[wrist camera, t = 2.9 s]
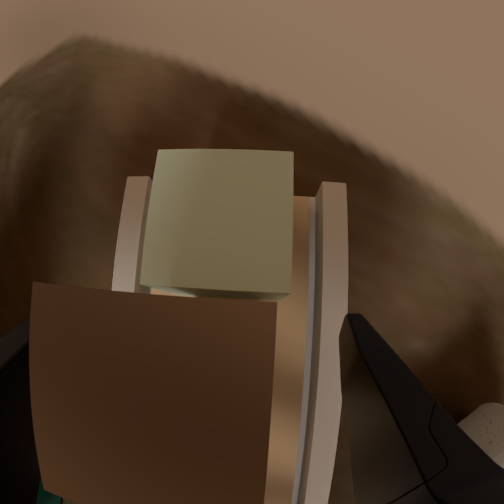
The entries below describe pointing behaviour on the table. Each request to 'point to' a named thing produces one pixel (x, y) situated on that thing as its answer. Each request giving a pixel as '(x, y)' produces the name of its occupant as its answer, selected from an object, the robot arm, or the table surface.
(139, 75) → the table surface
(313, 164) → the table surface
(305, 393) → the lane board
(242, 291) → the block
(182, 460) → the wooden stair steps
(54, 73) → the table surface
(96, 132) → the table surface
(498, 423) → the ceramic mug
